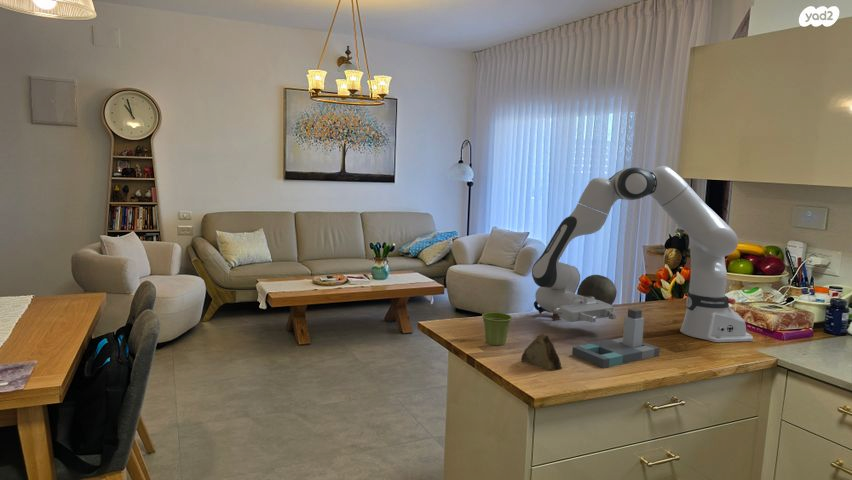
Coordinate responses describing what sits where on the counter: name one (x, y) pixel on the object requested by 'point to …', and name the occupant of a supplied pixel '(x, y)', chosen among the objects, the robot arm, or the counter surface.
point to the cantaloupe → (598, 288)
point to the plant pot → (496, 327)
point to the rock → (542, 354)
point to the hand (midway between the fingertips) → (604, 318)
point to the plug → (633, 328)
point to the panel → (613, 352)
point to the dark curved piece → (544, 310)
